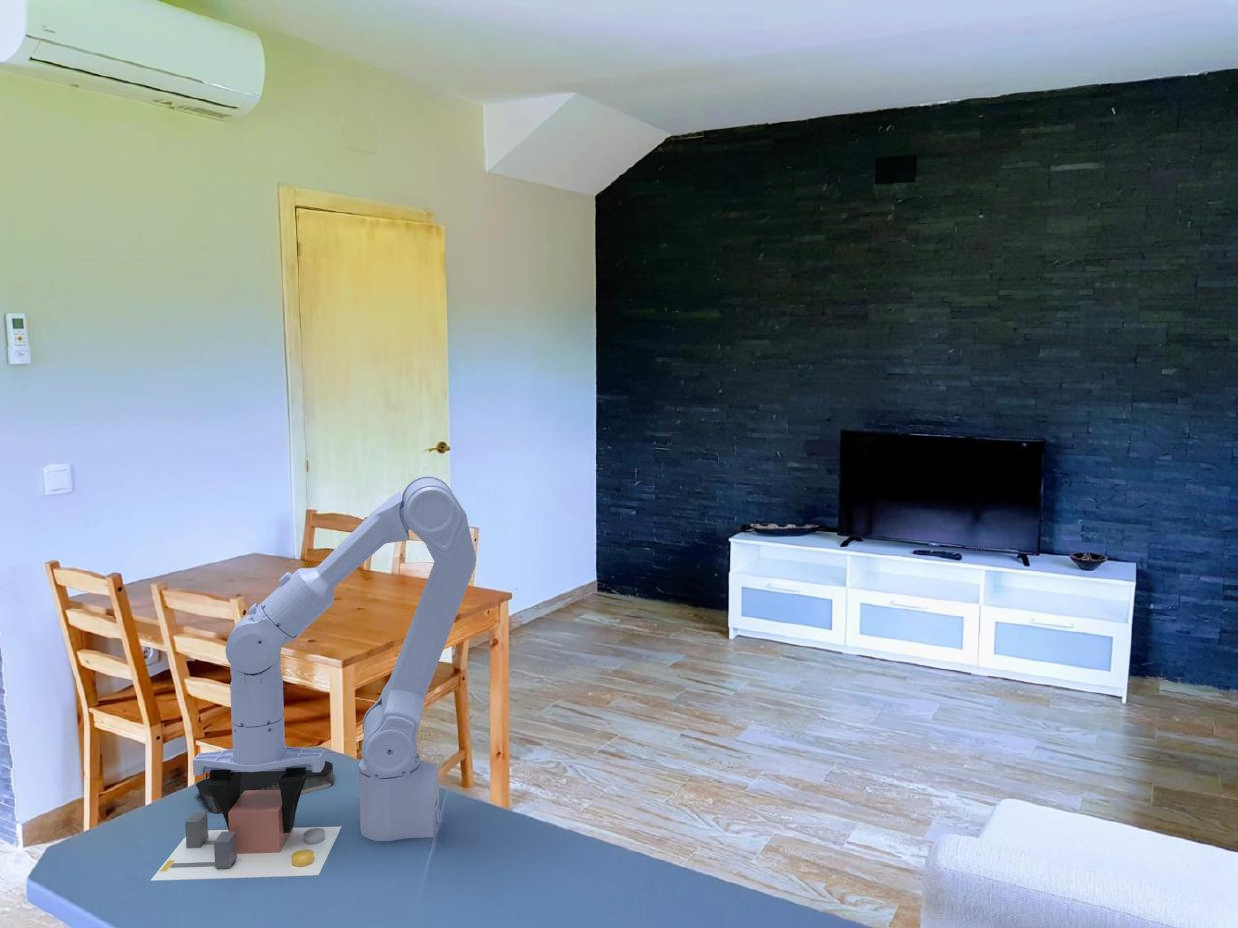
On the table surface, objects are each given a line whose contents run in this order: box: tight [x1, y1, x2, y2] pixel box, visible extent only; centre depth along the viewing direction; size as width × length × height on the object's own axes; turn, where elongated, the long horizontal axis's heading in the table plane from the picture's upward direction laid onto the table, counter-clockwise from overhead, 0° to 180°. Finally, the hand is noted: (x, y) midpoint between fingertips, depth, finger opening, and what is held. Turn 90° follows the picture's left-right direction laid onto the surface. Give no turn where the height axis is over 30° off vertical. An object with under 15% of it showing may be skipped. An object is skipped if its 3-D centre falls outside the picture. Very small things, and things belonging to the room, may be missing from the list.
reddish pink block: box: [228, 790, 294, 854], centre depth 109 cm, size 6×6×5 cm
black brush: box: [195, 760, 335, 815], centre depth 123 cm, size 16×8×4 cm, turn 123°
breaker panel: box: [150, 811, 342, 882], centre depth 107 cm, size 18×11×4 cm, turn 94°
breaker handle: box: [214, 831, 237, 868], centre depth 104 cm, size 2×2×3 cm
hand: (262, 829), depth 109 cm, fingers closed on reddish pink block, 6 cm apart
